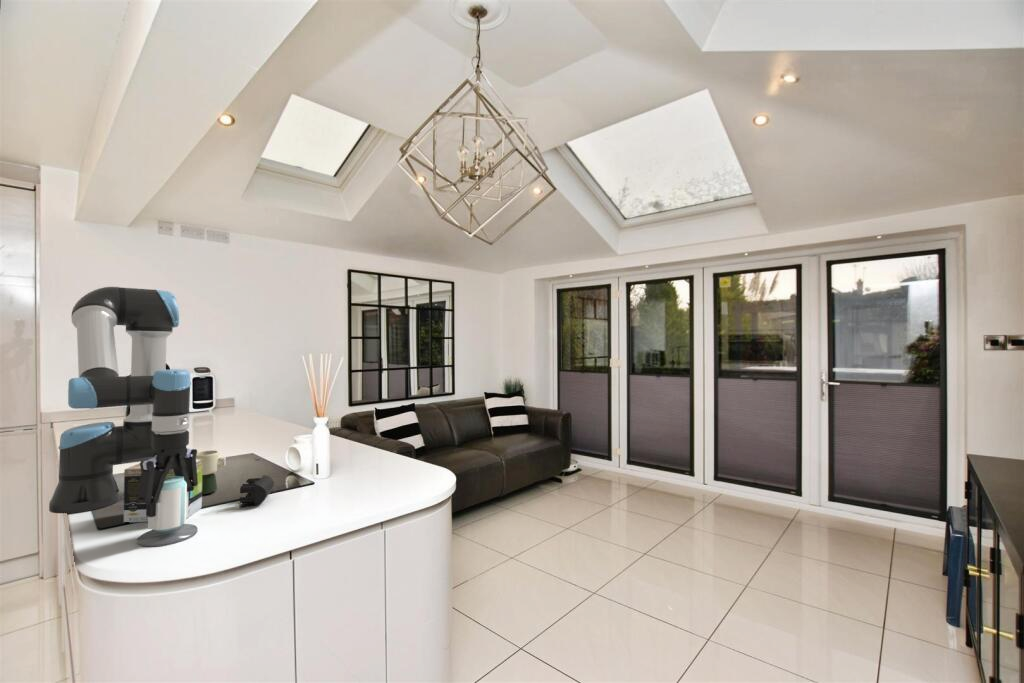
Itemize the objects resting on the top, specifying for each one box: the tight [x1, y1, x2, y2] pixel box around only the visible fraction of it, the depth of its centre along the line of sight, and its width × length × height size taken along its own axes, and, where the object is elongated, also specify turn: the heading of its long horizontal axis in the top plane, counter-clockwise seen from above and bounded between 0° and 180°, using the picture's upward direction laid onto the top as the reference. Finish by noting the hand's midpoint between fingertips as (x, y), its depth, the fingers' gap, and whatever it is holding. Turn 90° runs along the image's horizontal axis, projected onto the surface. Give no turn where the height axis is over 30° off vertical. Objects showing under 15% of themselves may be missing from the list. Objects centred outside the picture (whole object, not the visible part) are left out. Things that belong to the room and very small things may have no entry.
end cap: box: [239, 475, 275, 509], centre depth 138 cm, size 10×7×7 cm
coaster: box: [136, 523, 198, 548], centre depth 113 cm, size 12×12×1 cm
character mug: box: [196, 449, 226, 495], centre depth 144 cm, size 11×7×13 cm, turn 109°
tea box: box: [123, 459, 203, 523], centre depth 126 cm, size 15×10×15 cm, turn 100°
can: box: [152, 476, 187, 531], centre depth 113 cm, size 7×7×12 cm
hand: (168, 522), depth 113 cm, fingers closed on can, 7 cm apart
